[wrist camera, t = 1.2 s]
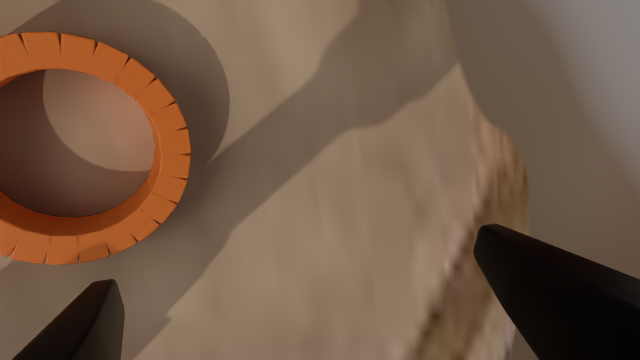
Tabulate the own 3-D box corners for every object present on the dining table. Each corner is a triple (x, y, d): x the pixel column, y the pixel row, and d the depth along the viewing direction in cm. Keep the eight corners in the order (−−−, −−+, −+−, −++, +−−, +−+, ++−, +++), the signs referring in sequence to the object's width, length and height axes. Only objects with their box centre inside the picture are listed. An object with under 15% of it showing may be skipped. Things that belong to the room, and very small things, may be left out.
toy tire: (19, 278, 19) (9, 305, 17) (-133, 78, 15) (-172, 81, 13) (210, 191, 22) (221, 203, 20) (130, 9, 18) (133, 2, 16)
